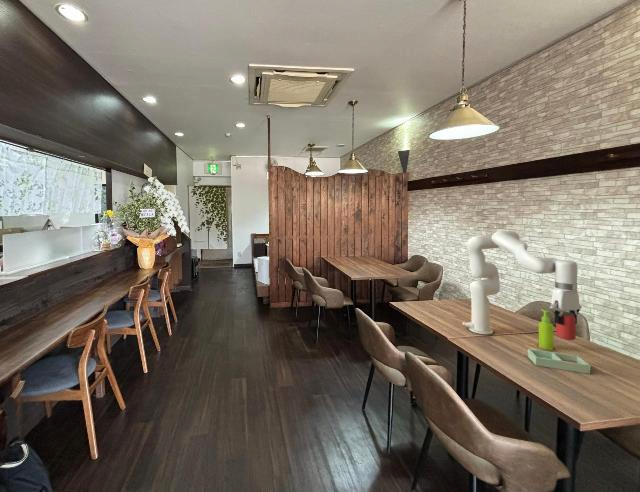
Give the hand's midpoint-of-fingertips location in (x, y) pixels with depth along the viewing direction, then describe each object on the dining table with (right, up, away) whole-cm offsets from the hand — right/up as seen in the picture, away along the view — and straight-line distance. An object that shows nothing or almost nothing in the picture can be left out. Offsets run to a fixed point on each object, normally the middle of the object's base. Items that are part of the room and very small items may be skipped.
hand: (565, 323), depth 137 cm
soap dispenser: (+8, -20, +19) cm, 29 cm away
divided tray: (-3, -20, +1) cm, 21 cm away
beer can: (0, -7, 0) cm, 7 cm away
